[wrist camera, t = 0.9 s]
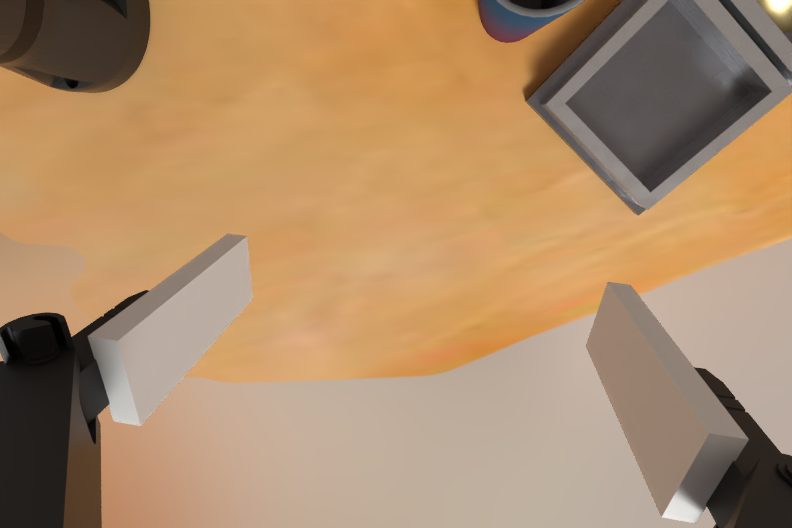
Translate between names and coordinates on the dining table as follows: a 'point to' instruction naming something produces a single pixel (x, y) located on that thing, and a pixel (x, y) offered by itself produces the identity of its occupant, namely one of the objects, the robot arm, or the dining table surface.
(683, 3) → the grey divided tray
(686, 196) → the dining table surface
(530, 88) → the dining table surface
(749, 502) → the robot arm
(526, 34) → the cup
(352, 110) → the dining table surface
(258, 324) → the dining table surface
